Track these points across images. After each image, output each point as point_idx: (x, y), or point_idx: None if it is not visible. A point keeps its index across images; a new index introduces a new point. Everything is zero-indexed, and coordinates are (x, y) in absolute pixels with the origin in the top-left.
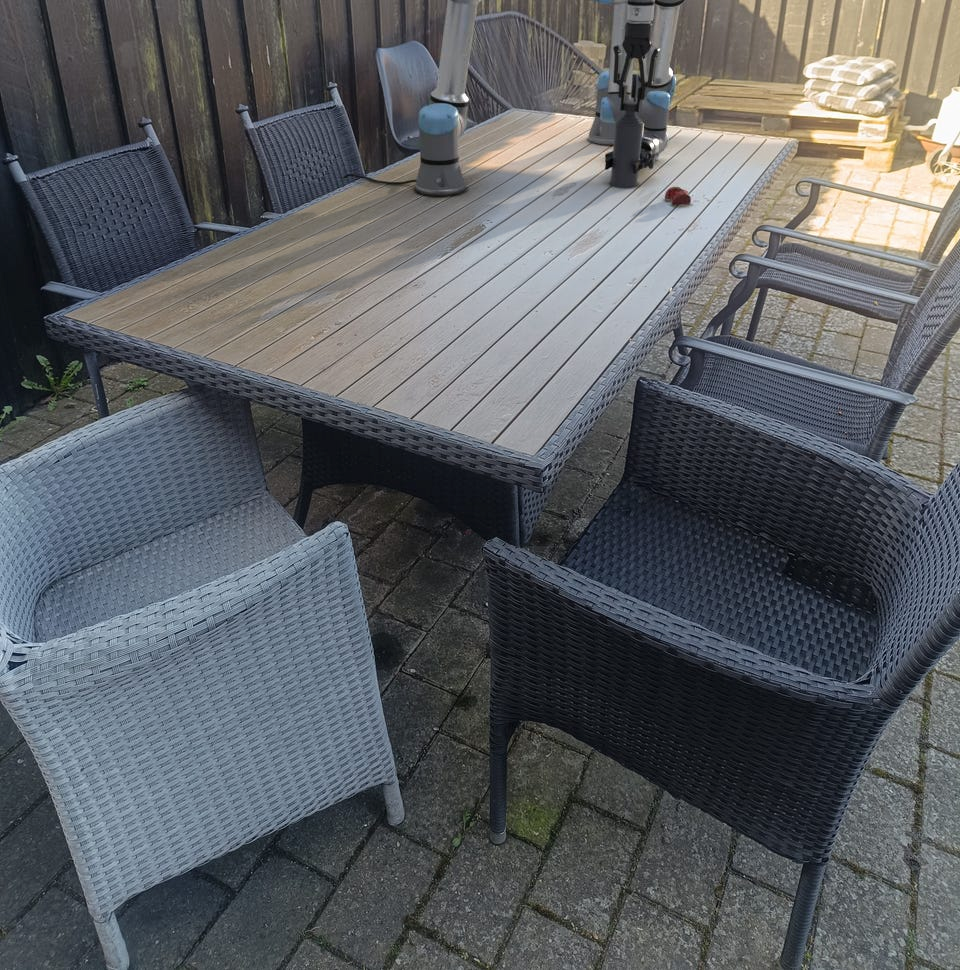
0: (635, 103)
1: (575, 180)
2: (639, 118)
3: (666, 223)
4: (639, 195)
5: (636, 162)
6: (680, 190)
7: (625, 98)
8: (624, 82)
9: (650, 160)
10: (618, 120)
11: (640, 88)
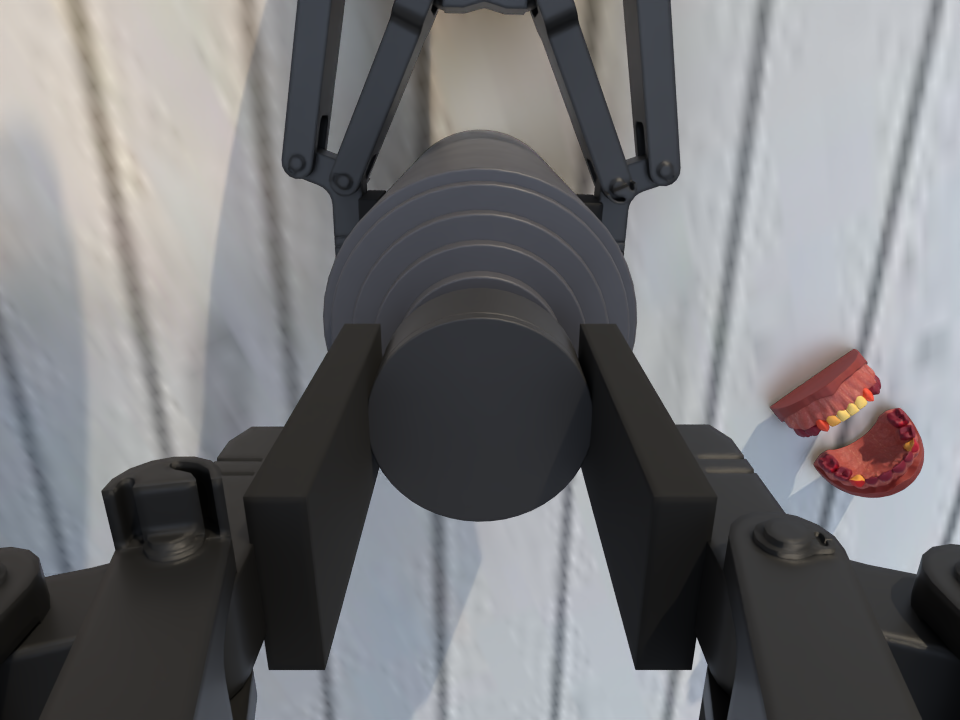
0: (548, 431)
1: (197, 273)
2: (578, 263)
3: None
4: None
5: None
6: (883, 479)
7: (358, 432)
8: (228, 618)
9: (658, 184)
10: None
11: (682, 669)
